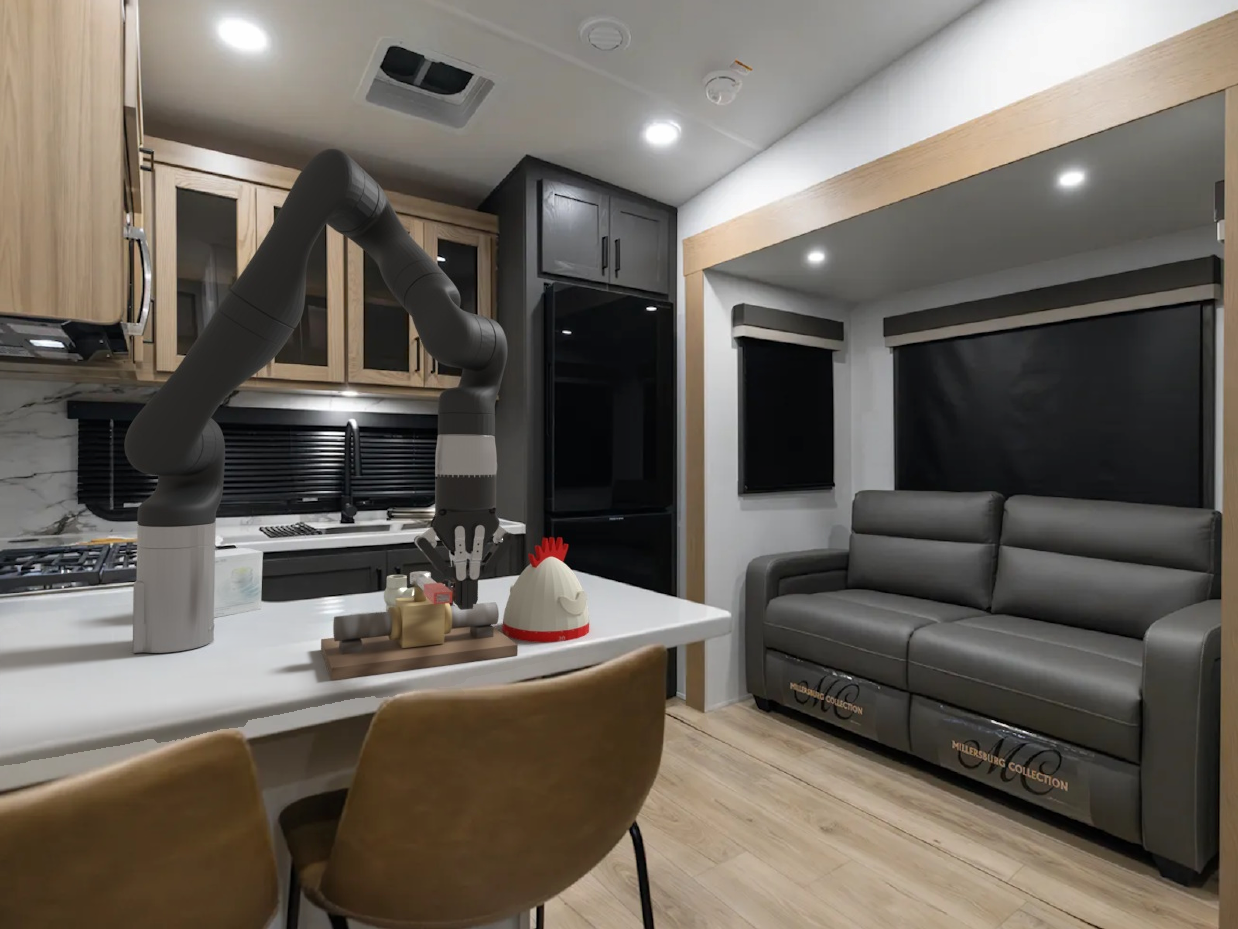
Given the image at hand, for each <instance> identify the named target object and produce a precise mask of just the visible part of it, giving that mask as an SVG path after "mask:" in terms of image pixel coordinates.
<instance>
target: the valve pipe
mask: <svg viewBox="0 0 1238 929" xmlns="http://www.w3.org/2000/svg"><path fill="white" fill-rule="evenodd" d="M413 588H414V597H407V598H395V607H389V608H388V612H386V611H383V612H373V613H360V614H349V615H339V616H336V615H335V616H334V617H333V625H332V626H333V627H332V630H333V631H332V632H333V637H330V638H329V637H327V638H321V640H320V644H321V645H320V651H321V654H322V656H323V659H324V663H325V666H326V669H327V672H328V674H329V678H330V681H334V680H335V681H336V680H344V679H351V678H359V677H367V676H373V675H380V674H389V673H395V672H396V673H397V672H403V671H411V670H418V669H425V668H426V669H427V668H432V667H439V666H448V665H455V664H456V665H457V664H463V663H470V662H471V663H472V662H477V661H487V660H493V659H501V658H502V659H503V658H507V657H516V656H518V648H519V647H518V644H517V643H516V642H515V641H514V640H512V638H511V639H510V637H509V636H507V635H505V634H504V632H501V631H500V630H498V629H497V628H496V627H495V626H493V625H497V624H498V622H499V614H500V612H499V607H498V604H497V603H496V602H495V601H494V602H483V603H476V604H473V609H466V610H461V609H459V608H458V606H457V605H455V606H450V604H449V603H446V604H433V603H432V602H431V601H430V600H429V599H428V598H427V597H426V596H425V595H424V590H422V589H421V588H420V587H419V586H418V585H413Z"/></svg>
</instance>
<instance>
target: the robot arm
mask: <svg viewBox="0 0 1238 929" xmlns="http://www.w3.org/2000/svg"><path fill="white" fill-rule="evenodd" d="M326 225H328V227H330V228H331V229H333V230H334V231H335V232H336V233H338V234H341V235H342V236H345V237H346V238H348V239H349V240H351V241H352V242H353V243H355V245H357V246H359V248H361V249H362V250H363V251H365V253H367V254H368V255H369V256H370V257H371V258H372V259H373V260H374V261H375V263H376V264H377V266H378V269H379V271H380V275H381V277H382V279H383V281H384V283H385V284H386V287H387V288H388V289H389V290H390V292H391V293H392V295H393V296H394V297H395V298H396V300H397V301H398V302H399V303H400V305H401V306H402V307H403V308H404V310H405V311H406V312H407V314H409V316H410V317H411V318H412V319H411V320H412V322H413V325H414V328H415V330H416V333H417V335H418V337H419V340H420V342H421V344H422V346H423V348H424V350H425V351H426V352H427V353H428V354H429V356H431V358H433V359H434V361H436V362H438V363H439V364H440V365H444V366H446V367H451V368H458V369H461V370H462V372H461V376H460V380H459V383H458V386H456V387H451V388H446V389H445V390H443V391H442V392H441V393H440V394H439V397H438V402H437V442H436V448H435V470H434V471H435V472H434V474H435V478H434V480H435V482H434V483H435V484H434V486H435V487H434V488H435V489H434V492H435V493H434V498H435V499H434V515H433V518H432V520H431V521H430V528H428V529H427V530H426V531H425V532H423V533H422V534H421V535H416V536H415V537H414V539H413V543H414V545H415V546H416V547H417V548H418V549H419V550H420V552H421V553H422V554H423V555H424V556H425V558H426V559H427V560H428V562H429V563H430V564H431V565H432V566H433V567H434V568H435V570H437V572H438V573H439V574H441V575H442V576H444V577H448V578H451V579H452V582H453V601H454V602H453V604H454V605H455V606H458V608H459V609H461V610H466V609H473V604H478V603H477V602H478V601H479V595H478V594H479V592H478V591H479V579H480V577H482V576H484V575H486V574H491V573H492V572H493V570H495V568H496V566H497V565H498V564H499V562H500V561H501V559H502V558H503V557H504V556H505V554H506V553H507V552H508V550H509V549H510V548H511V545H513V543H514V542H515V540H516V535H515V534H514V533H512V532H509V531H507V530H506V529H505V528H504V527H502V526H501V525H500V519H499V517H498V515H497V511H496V510H497V471H498V462H497V459H498V458H497V457H498V456H497V447H496V438H495V435H496V416H495V415H496V411H495V407H496V402H497V398H498V394H499V391H500V389H501V383H502V379H503V376H504V371H505V368H506V365H507V359H508V342H507V341H508V340H507V337H506V334H505V331H504V329H503V327H502V326H501V325H500V323H498V322H497V321H496V320H495V319H492V318H491V317H486V316H483V315H479V314H475V313H471V312H468V311H465V310H463V309H462V308H460V307H461V300H462V299H461V295H460V291H459V290H458V287H457V286H456V285H455V284H454V282H453V281H452V280H451V279H450V278H449V276H448V275H447V274H446V273H445V272H444V271H443V269H442V268H441V267H440V266H439V264H437V263H436V261H434V259H432V257H431V256H430V255H429V254H428V253H427V252H426V251H425V250H424V249H423V248H422V246H420V245H419V244H418V243H417V241H415V240H414V239H413V237H412V236H411V235H410V234H409V232H408V231H407V229H406V228H405V226H404V224H402V222H401V220H400V218H399V217H398V215H397V212H396V211H395V209H394V207H393V205H392V204H391V202H390V200H389V198H388V197H387V195H386V193H385V191H384V190H383V188H382V187H381V186H380V183H378V182H377V181H376V180H375V179H374V178H373V177H372V176H371V175H369V174H368V172H367V171H365V170H364V168H362V167H361V166H360V165H359V163H357V162H356V161H355V160H354V159H353V158H352V157H351V156H350V155H348V154H347V153H346V152H345V151H342V150H340V149H338V148H328V149H324V150H322V151H319V152H318V153H316V154H315V155H314V156H313V157H312V158H311V159H309V160H308V162H307V163H306V164H305V166H304V167H303V169H302V170H300V173H299V174H298V175H297V177H296V179H295V181H294V183H293V185H292V187H291V189H290V190H289V192H288V194H287V196H286V197H285V200H284V201H283V204H282V206H281V208H280V210H279V211H278V214H277V215H276V217H275V219H274V221H273V223H272V224H271V227H270V229H269V231H267V234H266V235H265V236H264V238H263V239H262V241H261V243H260V245H258V246H259V247H258V248H257V250H256V251H255V253H254V254H253V256H252V258H251V259H250V260H249V262H248V264H247V265H246V266H245V268H244V270H243V271H242V273H241V274H240V275H239V276H238V278H236V280H235V282H234V283H233V285H232V286H231V287H230V289H229V290H228V292H227V293H226V294H225V296H224V298H223V299H222V300H221V302H220V303H219V305H218V306H217V308H216V309H215V311H214V312H213V314H212V316H211V318H210V320H209V321H208V323H207V324H206V326H205V328H204V329H203V330H202V332H201V333H200V334H199V336H198V337H197V338H196V340H195V341H194V342H193V344H192V345H191V347H190V348H189V350H188V352H187V353H186V355H185V356H184V357H183V359H182V360H181V362H180V363H179V364H178V366H177V368H176V369H174V372H172V374H171V375H170V377H169V378H168V379H167V380H166V381H165V382H164V384H162V386H161V387H160V388H159V389H158V391H157V392H156V393H155V394H154V395H153V396H152V398H150V400H149V401H148V402H146V404H145V405H144V407H143V408H142V409H141V410H140V411H139V412H138V414H137V415H136V416H135V417H134V419H133V420H132V421H131V424H130V425H129V427H128V429H127V432H126V434H125V438H124V453H125V456H126V457H127V458H126V459H127V461H128V462H129V464H130V465H131V466H132V467H133V468H134V469H135V470H136V471H139V472H140V473H143V474H146V475H152V476H158V477H157V485H156V488H155V490H154V491H153V493H152V494H151V495H150V496H149V497H148V498H147V499H146V500H144V501H143V502H141V504H139V505H138V509H137V522H136V523H137V528H136V535H137V536H136V537H137V538H136V541H137V542H136V546H137V547H136V580H135V582H134V583H133V592H132V593H133V596H132V597H133V598H132V653H133V654H137V653H148V654H149V653H151V654H157V653H159V654H160V653H161V654H162V653H172V652H181V651H188V650H192V649H196V648H200V647H203V646H206V645H208V644H210V643H213V642H214V638H215V637H214V636H215V633H214V632H215V618H214V592H215V550H216V521H217V520H216V518H217V510H218V508H219V506H220V504H221V501H222V499H223V493H224V492H223V491H224V478H225V465H226V464H225V462H226V445H225V444H226V443H225V437H224V435H223V431H222V428H221V427H220V425H219V424H218V423H217V422H216V421H215V420H214V419H213V418H212V417H213V415H214V414H215V412H216V411H217V409H218V408H219V407H220V405H221V404H222V403H223V401H225V400H226V398H227V397H228V396H229V395H230V394H231V393H232V392H233V391H235V390H236V389H237V388H239V387H240V386H241V385H242V384H244V383H245V382H246V381H248V380H249V379H251V378H252V377H253V376H254V375H256V374H257V373H258V372H259V371H260V370H262V369H263V368H264V367H266V366H267V365H268V364H269V363H271V362H272V360H273V359H275V358H276V356H277V355H278V354H279V352H280V351H281V350H282V348H284V346H285V345H286V343H287V341H288V340H289V338H290V337H291V335H292V334H293V332H294V331H295V329H297V327H298V325H299V323H300V322H301V319H302V316H303V313H304V309H305V304H306V302H305V301H306V289H307V283H306V282H307V268H308V261H309V258H310V254H311V251H312V248H313V246H314V244H316V241H317V239H318V237H319V236H320V234H321V232H322V230H323V229H324V228H325V226H326ZM436 537H437V538H438V540H439V542H441V543H442V545H443V546H444V548H446V550H448V555H449V560H450V565H448V563H447V561H445V559H444V558H443V557H442V556H441V555H440V554H439V552H438V551H437V550H436V549H435V548H436V547H437V544H438V543H437V540H436ZM491 540H492V541H493V544H492V546H491V547H490V548H489V549H488V551H487V552H486V554H485V555H484V556H483V550H484V548H486V546H487V545H488V543H489V542H490V541H491Z"/></svg>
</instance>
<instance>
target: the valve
mask: <svg viewBox="0 0 1238 929" xmlns="http://www.w3.org/2000/svg"><path fill="white" fill-rule="evenodd" d="M407 576H408V575H405V574H390V575H387V576H386V588H385V589H384V591H383V592H384V593H383V600H384V603H385V605H386V606H385V612H388V608H389V607H395V598H407V597H414V587H409V588H408V587H407V586H408V580H407V578H408V577H407ZM442 584H444V585H445V586H446V587H447V588H449V589H450V590H451V591H452V603H449V604H450V606H456V604H454V601H453V581H451V580H450V579H443V580H442Z"/></svg>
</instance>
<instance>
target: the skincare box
mask: <svg viewBox="0 0 1238 929" xmlns="http://www.w3.org/2000/svg"><path fill="white" fill-rule="evenodd" d="M263 557H264V551H261V550H257V549H253V548H249V547H237V548H227V549H225V548H224V549H215V592H214V619H215V618H220V617H221V618H222V617H225V616H232V615H233V616H234V615H237V614H243V613H248V612H254V611H258V610H262V585H263V583H262V582H263Z"/></svg>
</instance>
